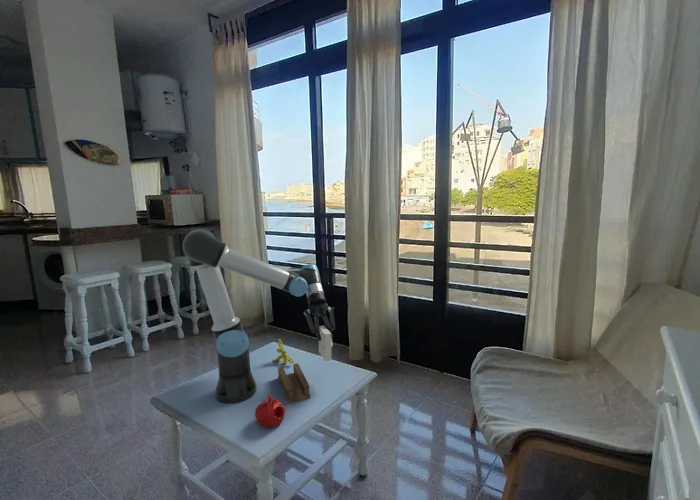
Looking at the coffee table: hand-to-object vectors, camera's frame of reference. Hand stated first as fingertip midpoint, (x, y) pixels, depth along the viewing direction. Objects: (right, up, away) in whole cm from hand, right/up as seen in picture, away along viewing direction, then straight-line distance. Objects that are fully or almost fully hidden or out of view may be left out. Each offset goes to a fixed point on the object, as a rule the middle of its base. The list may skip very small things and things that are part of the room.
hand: (327, 347), depth 138 cm
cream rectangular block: (-1, -5, +4) cm, 6 cm away
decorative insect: (-22, -14, +23) cm, 34 cm away
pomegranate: (-18, -20, -20) cm, 34 cm away
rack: (-14, -16, +1) cm, 21 cm away
